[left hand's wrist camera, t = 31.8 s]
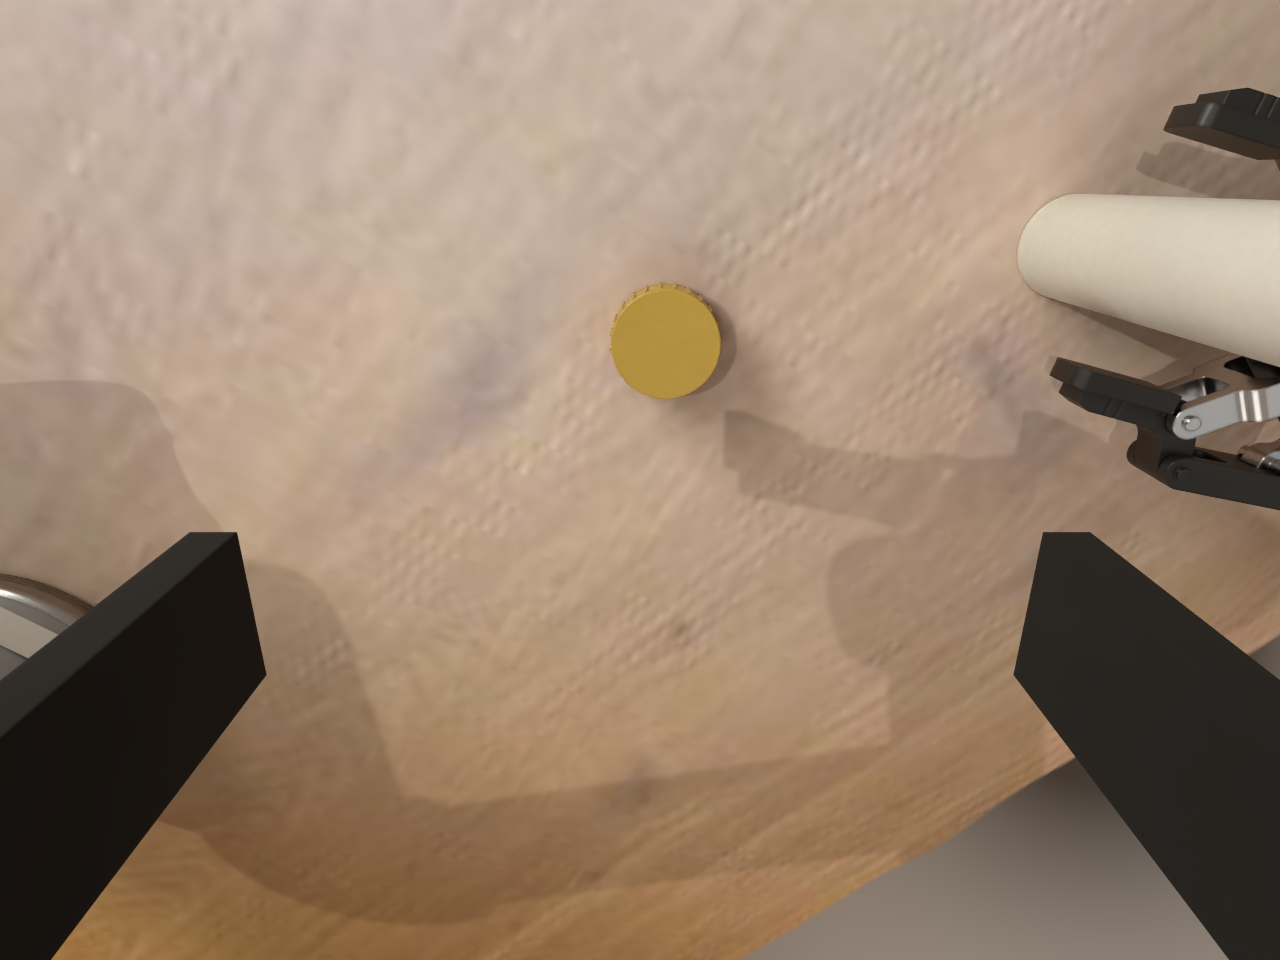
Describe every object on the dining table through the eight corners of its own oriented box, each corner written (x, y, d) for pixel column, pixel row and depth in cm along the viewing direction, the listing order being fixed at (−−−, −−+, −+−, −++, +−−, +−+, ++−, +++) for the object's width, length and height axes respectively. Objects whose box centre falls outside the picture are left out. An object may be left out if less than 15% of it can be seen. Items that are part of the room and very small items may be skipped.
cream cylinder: (1070, 317, 33) (1534, 471, 16) (995, 263, 33) (1395, 362, 15) (1142, 230, 32) (1735, 293, 14) (1065, 172, 31) (1594, 163, 14)
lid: (736, 358, 34) (741, 368, 32) (643, 407, 35) (642, 419, 33) (688, 262, 33) (690, 266, 31) (592, 314, 34) (588, 322, 32)
